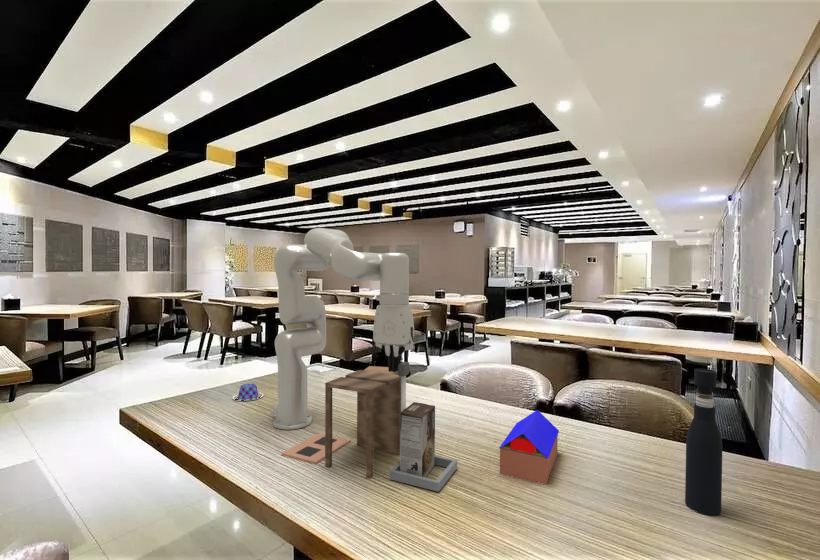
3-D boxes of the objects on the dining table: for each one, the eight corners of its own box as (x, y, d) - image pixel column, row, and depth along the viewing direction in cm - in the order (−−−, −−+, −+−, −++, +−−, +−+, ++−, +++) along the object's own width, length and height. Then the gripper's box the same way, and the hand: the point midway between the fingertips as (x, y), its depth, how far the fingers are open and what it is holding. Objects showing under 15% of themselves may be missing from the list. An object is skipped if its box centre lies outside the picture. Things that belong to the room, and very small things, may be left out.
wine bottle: (678, 499, 92) (680, 367, 91) (704, 498, 92) (707, 366, 92) (700, 516, 85) (703, 374, 85) (729, 515, 86) (731, 373, 85)
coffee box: (412, 460, 110) (413, 401, 109) (435, 465, 107) (436, 404, 107) (398, 476, 101) (399, 411, 101) (422, 481, 99) (423, 415, 98)
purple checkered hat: (251, 403, 158) (251, 390, 158) (225, 401, 161) (225, 387, 161) (269, 394, 169) (269, 382, 169) (245, 392, 172) (245, 380, 172)
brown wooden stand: (325, 466, 106) (325, 382, 106) (358, 443, 120) (359, 369, 120) (371, 478, 100) (371, 389, 100) (400, 453, 114) (401, 375, 114)
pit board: (281, 455, 113) (281, 452, 113) (318, 434, 127) (318, 432, 127) (315, 464, 107) (315, 461, 107) (350, 442, 122) (350, 439, 122)
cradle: (388, 478, 100) (388, 368, 99) (411, 457, 111) (411, 358, 111) (438, 491, 94) (439, 374, 93) (457, 467, 105) (458, 363, 105)
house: (558, 454, 115) (559, 413, 115) (547, 486, 97) (548, 438, 97) (516, 445, 121) (516, 406, 120) (498, 474, 103) (498, 429, 103)
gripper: (362, 300, 105) (361, 370, 106) (414, 302, 99) (413, 377, 99) (377, 298, 112) (376, 365, 112) (426, 300, 106) (426, 370, 106)
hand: (394, 370), depth 106 cm, fingers closed
